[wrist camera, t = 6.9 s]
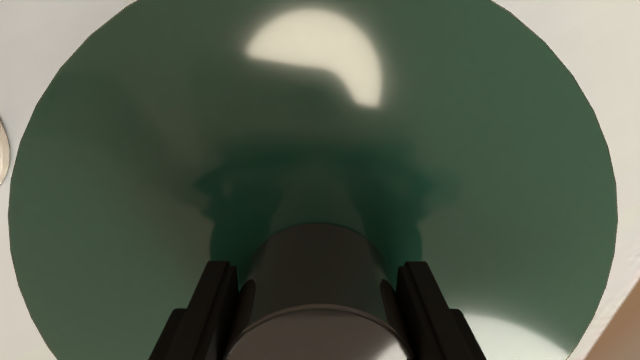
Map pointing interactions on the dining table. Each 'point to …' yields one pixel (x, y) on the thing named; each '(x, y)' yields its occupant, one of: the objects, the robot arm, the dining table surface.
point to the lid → (312, 179)
